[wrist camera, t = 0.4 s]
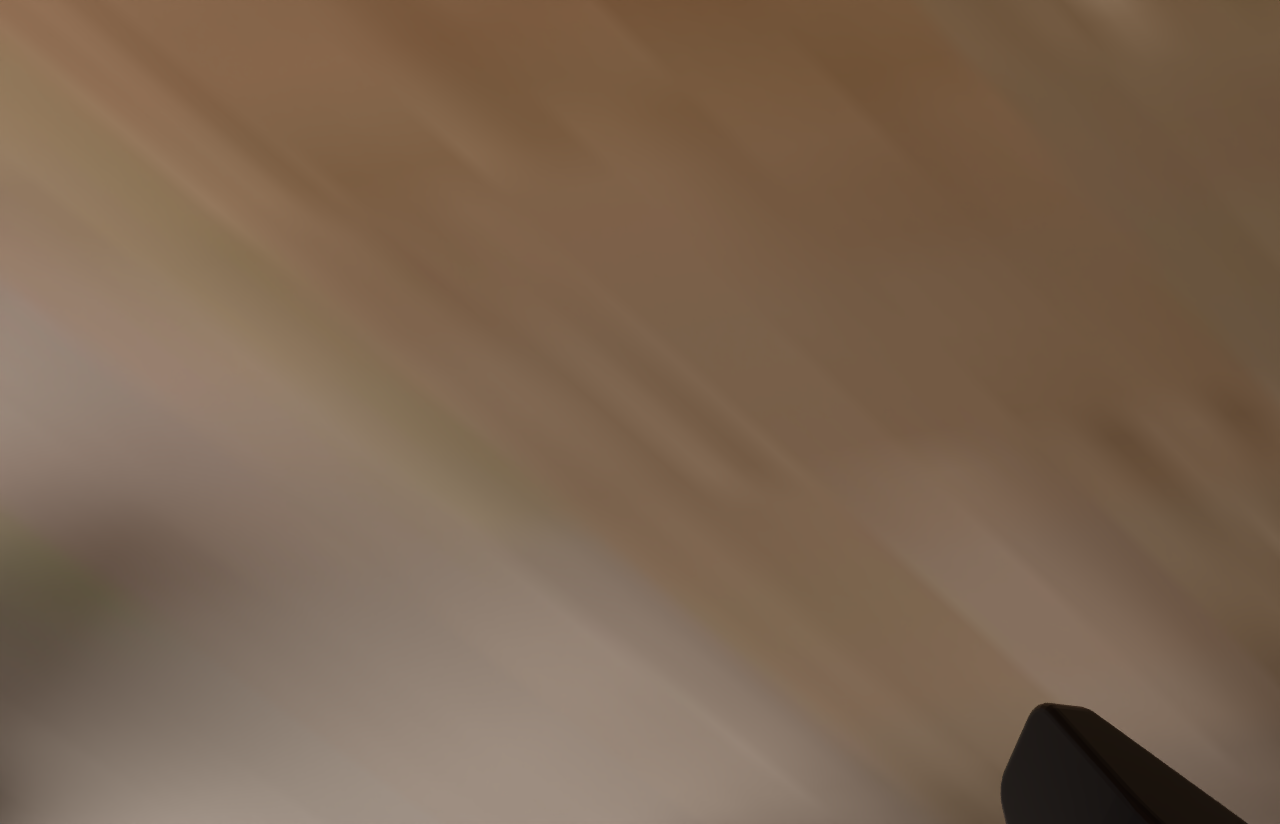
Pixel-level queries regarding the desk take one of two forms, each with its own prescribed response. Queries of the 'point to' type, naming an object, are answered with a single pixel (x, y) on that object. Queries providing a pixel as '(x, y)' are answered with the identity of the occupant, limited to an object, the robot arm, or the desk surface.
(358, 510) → the desk surface
